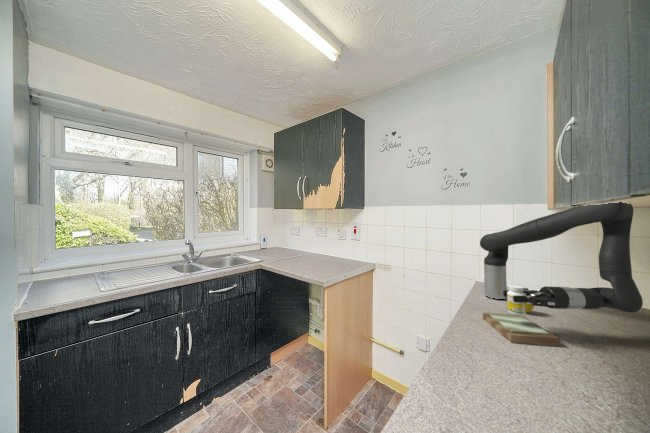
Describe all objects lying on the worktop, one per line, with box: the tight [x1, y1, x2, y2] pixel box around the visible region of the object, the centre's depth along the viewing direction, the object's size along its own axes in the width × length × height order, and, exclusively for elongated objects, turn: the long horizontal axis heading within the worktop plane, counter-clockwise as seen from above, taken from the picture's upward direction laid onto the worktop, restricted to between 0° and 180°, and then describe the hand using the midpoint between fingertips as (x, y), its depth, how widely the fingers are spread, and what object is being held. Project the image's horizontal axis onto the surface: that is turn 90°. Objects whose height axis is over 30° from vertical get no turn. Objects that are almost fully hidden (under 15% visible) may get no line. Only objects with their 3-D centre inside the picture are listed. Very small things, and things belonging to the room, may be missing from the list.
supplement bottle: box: [506, 284, 527, 316], centre depth 83 cm, size 5×5×10 cm
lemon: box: [526, 302, 535, 314], centre depth 98 cm, size 6×6×8 cm
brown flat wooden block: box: [482, 312, 560, 347], centre depth 83 cm, size 18×14×3 cm
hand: (508, 296), depth 83 cm, fingers closed on supplement bottle, 5 cm apart
